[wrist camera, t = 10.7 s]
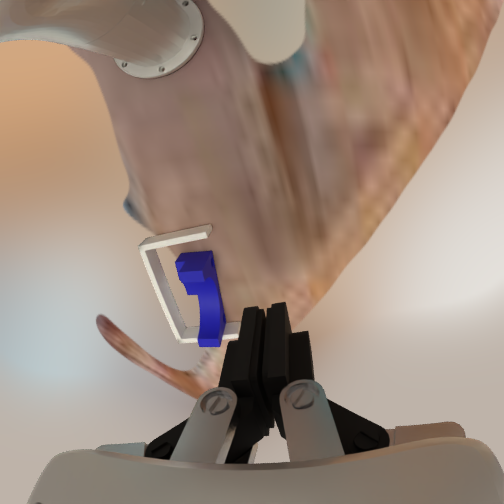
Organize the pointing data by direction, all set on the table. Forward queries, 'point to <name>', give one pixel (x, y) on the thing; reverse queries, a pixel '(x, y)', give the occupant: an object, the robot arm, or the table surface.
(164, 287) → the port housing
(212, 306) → the cable clip
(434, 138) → the table surface
